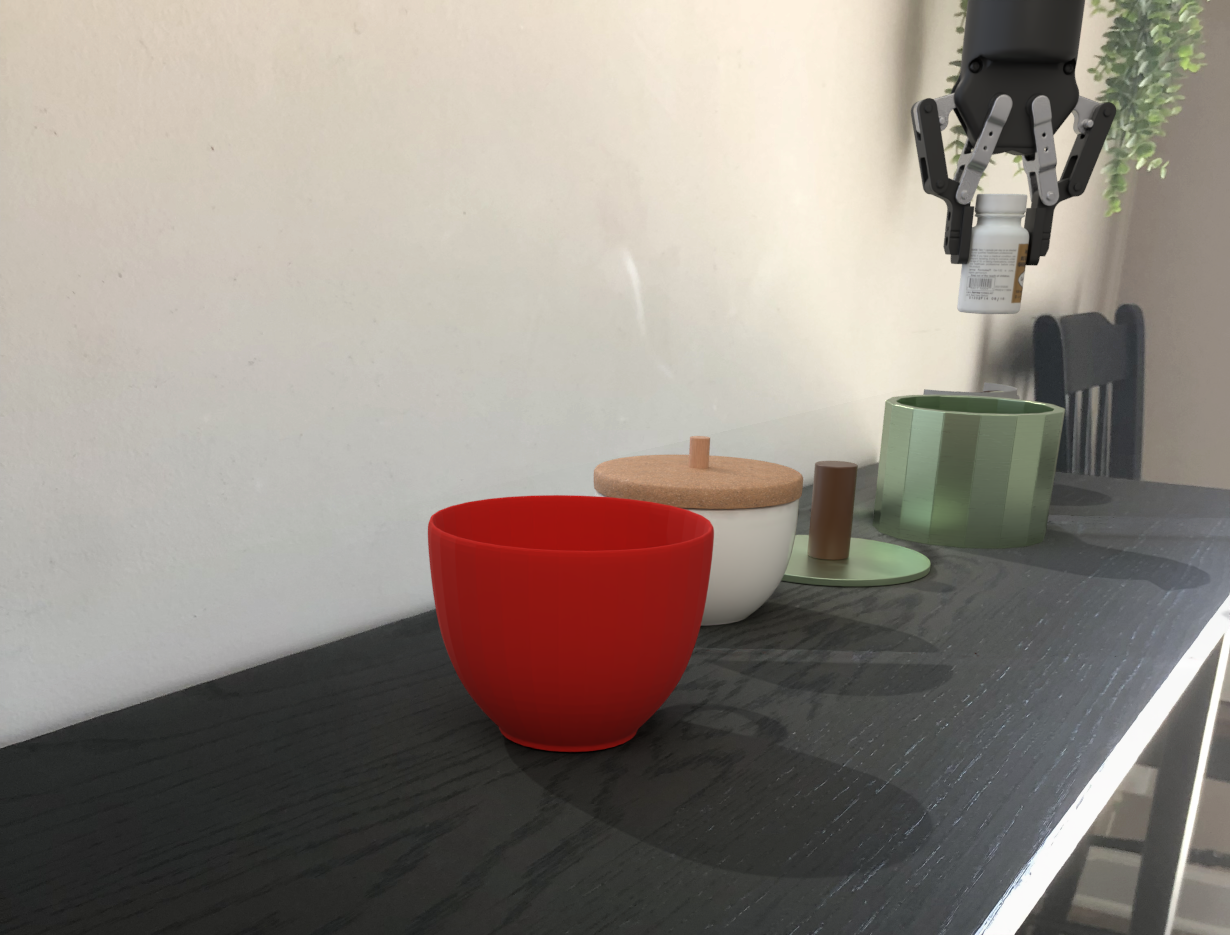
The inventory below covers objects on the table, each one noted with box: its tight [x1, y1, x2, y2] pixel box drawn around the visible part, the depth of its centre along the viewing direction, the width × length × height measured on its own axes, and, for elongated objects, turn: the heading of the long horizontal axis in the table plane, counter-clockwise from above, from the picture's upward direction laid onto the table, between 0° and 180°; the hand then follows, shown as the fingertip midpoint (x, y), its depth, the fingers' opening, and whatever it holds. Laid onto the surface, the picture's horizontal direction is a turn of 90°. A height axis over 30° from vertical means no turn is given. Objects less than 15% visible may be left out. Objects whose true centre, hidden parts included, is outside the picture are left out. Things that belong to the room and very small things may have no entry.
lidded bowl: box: [593, 435, 804, 626], centre depth 81 cm, size 13×13×11 cm
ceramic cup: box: [427, 494, 714, 753], centre depth 64 cm, size 13×17×10 cm
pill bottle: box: [956, 193, 1029, 315], centre depth 94 cm, size 4×4×8 cm
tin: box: [872, 394, 1066, 550], centre depth 107 cm, size 14×14×10 cm
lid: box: [781, 460, 932, 588], centre depth 95 cm, size 15×15×8 cm
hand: (994, 263), depth 94 cm, fingers closed on pill bottle, 4 cm apart
